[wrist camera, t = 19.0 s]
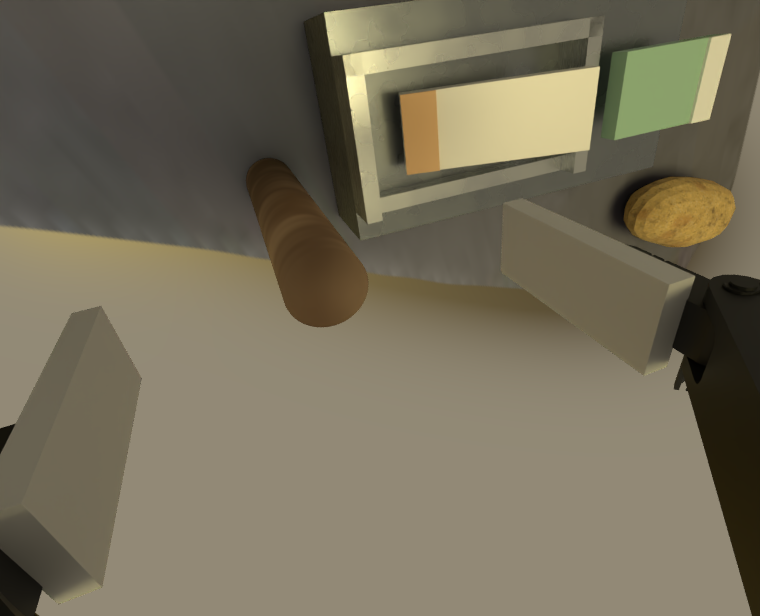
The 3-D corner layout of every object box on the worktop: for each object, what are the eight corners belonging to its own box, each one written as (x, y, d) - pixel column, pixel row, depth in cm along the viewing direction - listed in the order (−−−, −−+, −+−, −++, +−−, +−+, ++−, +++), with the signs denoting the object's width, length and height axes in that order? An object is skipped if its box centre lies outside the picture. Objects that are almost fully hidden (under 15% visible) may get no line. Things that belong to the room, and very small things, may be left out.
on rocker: (600, 137, 29) (616, 140, 28) (612, 52, 26) (630, 51, 25) (692, 116, 31) (711, 118, 30) (712, 34, 28) (734, 33, 27)
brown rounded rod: (253, 209, 32) (294, 337, 17) (240, 163, 30) (272, 261, 16) (298, 199, 33) (373, 313, 18) (287, 153, 31) (361, 238, 16)
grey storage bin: (338, 215, 34) (372, 253, 27) (303, 21, 28) (335, 7, 21) (597, 154, 40) (680, 173, 33) (621, -21, 33) (732, -44, 26)
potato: (672, 234, 48) (727, 255, 43) (596, 235, 45) (646, 257, 39) (699, 173, 45) (762, 187, 40) (619, 168, 42) (678, 182, 36)
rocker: (405, 169, 27) (407, 174, 26) (398, 92, 25) (399, 95, 24) (581, 145, 27) (591, 150, 26) (590, 65, 25) (601, 66, 23)
